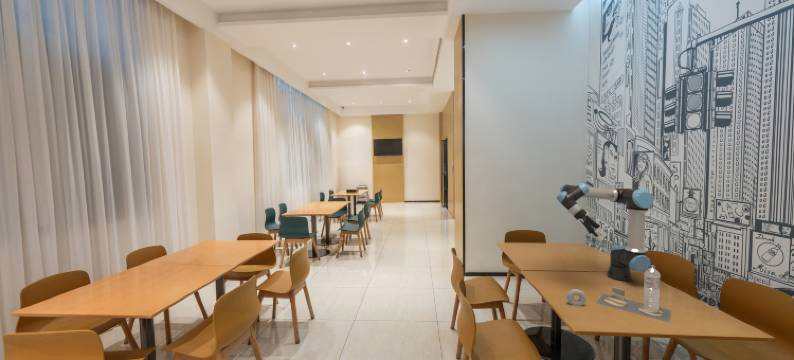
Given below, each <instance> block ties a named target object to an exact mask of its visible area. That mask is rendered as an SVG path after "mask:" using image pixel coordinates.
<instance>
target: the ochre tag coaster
mask: <svg viewBox="0 0 794 360" xmlns="http://www.w3.org/2000/svg"><path fill="white" fill-rule="evenodd" d="M660 298H661V297H660ZM660 298H659V306H660V301H661V299H660ZM638 310H639V311H640V312H642V313H644V314H647V315H650V316H656V317H662V316H664V313H663V312H662V311H661V310H659V312H658V313H651V312H647V311H645V310H644V309H643V306H640V307H638Z"/></svg>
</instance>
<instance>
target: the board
mask: <svg viewBox="0 0 794 360" xmlns="http://www.w3.org/2000/svg"><path fill="white" fill-rule="evenodd" d="M605 298H613V297H612V294H611V295H610V294H607V293H602V294H601V296H600V297H599V299H597V301H596V304H599V305H603V306H606V307H611V308H614V309H617V310H620V311H626V312H627V313H628V312H629V313H632V314H635V315H640V316H644V317H646V318H647V317H648V318H652V319H655V320H659V321H661V322H667V323H670V320H671V313H672V310H671V309H668V308H664V307H660V306H659V310H661V311H662V312H663V313H664V316H662V317H656V316H650V315H647V314H644V313H642V312H640V311H639V310H638V307H640V306H643V302H640V301H635V300H630V299H628V298H624V300H623V301H625V302H626V303H627V306H626V307H617V306H613V305H610V304H607V303H606V302H605V301H604V299H605ZM616 299H617V298H616ZM620 300H621V299H620Z"/></svg>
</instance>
